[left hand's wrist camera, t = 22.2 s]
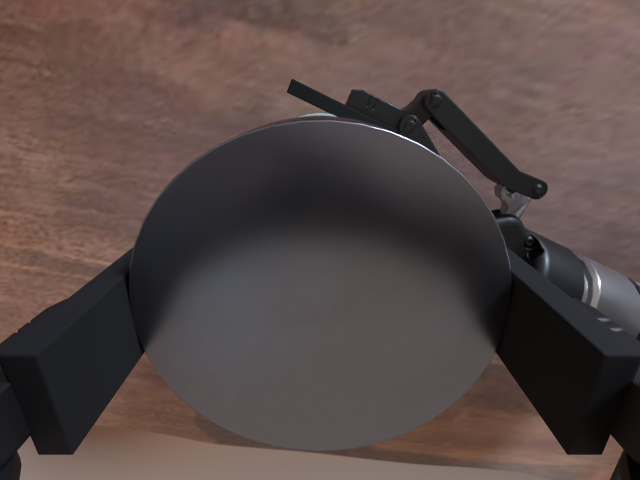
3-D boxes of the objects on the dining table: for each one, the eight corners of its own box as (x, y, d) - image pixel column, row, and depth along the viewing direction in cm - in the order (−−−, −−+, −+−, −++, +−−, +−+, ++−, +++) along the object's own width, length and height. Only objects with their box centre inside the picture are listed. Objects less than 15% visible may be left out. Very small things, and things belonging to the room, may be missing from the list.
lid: (380, 432, 15) (390, 486, 13) (127, 341, 13) (90, 387, 11) (545, 210, 11) (597, 235, 9) (225, 44, 10) (198, 29, 7)
